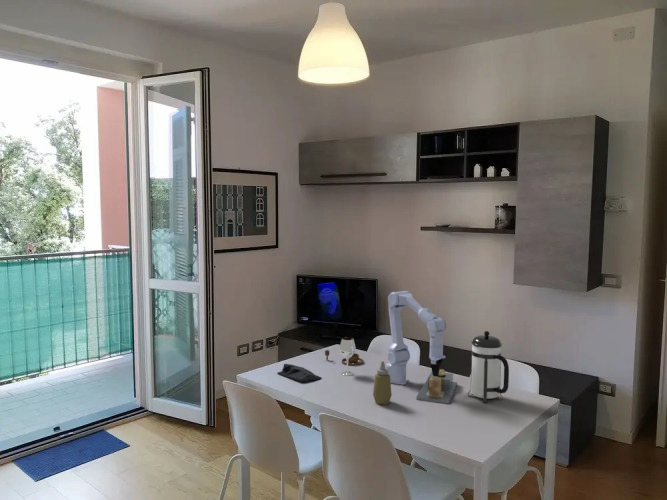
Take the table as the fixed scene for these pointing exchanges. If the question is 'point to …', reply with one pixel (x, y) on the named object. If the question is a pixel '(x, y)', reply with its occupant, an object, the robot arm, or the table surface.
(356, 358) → the place setting
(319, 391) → the table surface
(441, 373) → the pin
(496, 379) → the coffee press
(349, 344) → the wineglass
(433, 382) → the oak block
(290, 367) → the dark grey cloth
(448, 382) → the base
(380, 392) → the squeeze bottle
